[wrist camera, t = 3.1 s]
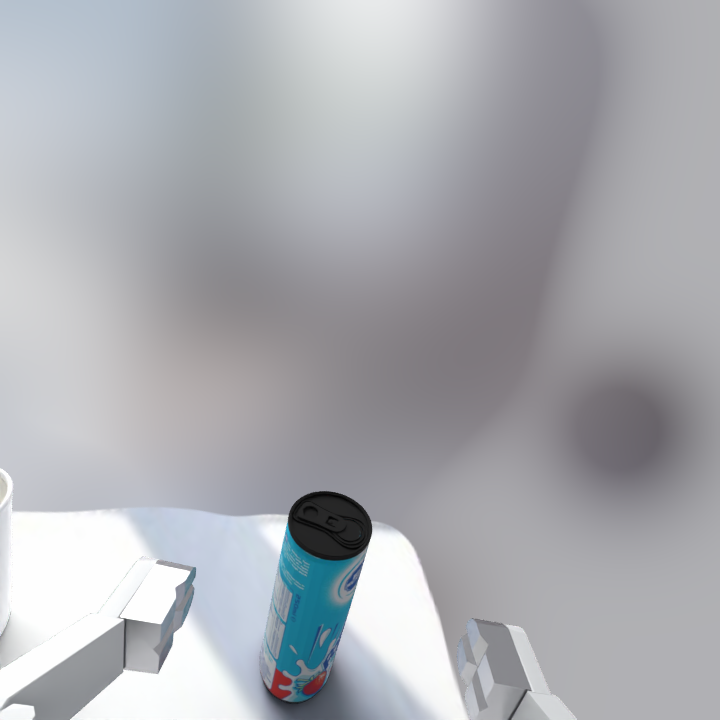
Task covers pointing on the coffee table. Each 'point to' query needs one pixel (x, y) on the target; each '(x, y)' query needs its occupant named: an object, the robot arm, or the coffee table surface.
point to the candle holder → (5, 548)
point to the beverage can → (312, 593)
